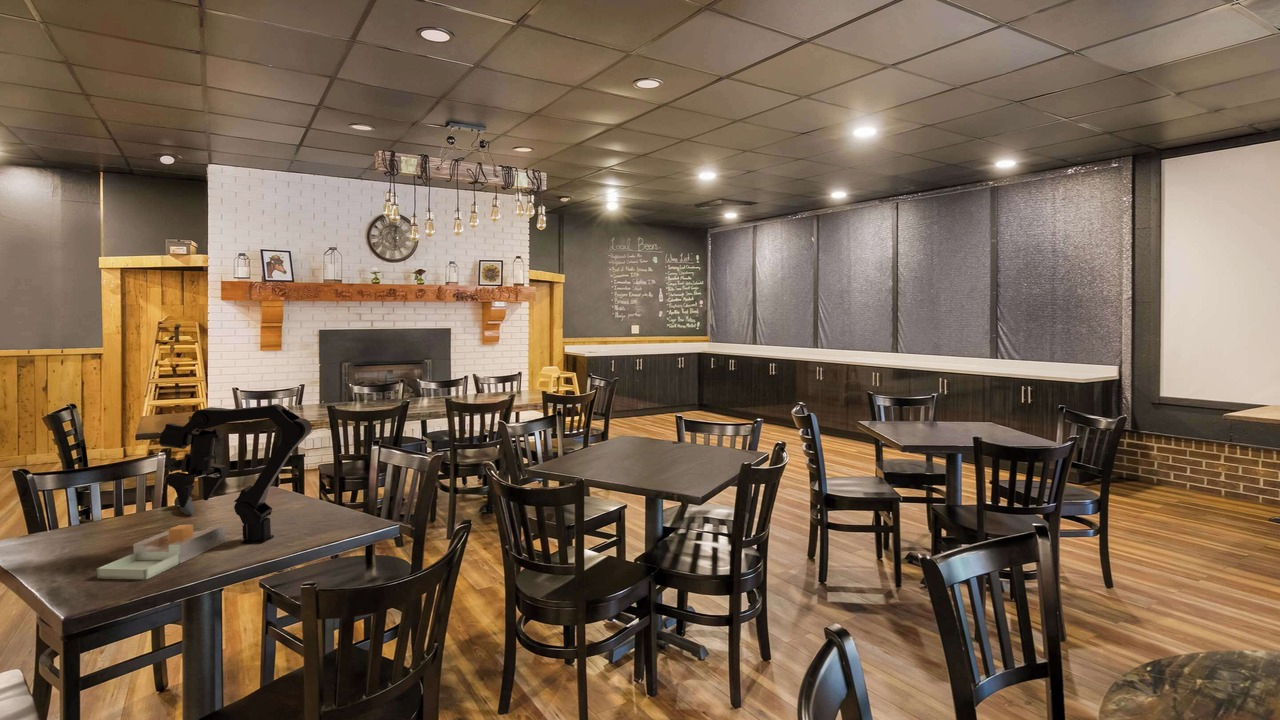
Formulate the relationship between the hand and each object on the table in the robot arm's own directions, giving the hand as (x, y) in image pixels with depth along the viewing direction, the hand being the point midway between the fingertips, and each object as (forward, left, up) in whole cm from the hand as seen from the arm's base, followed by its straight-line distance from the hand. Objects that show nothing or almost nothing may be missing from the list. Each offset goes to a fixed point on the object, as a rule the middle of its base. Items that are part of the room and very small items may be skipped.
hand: (194, 503), depth 197 cm
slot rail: (-1, +7, -12) cm, 14 cm away
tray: (-1, +22, -12) cm, 25 cm away
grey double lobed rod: (+29, -34, -12) cm, 46 cm away
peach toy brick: (-1, +7, -9) cm, 11 cm away
